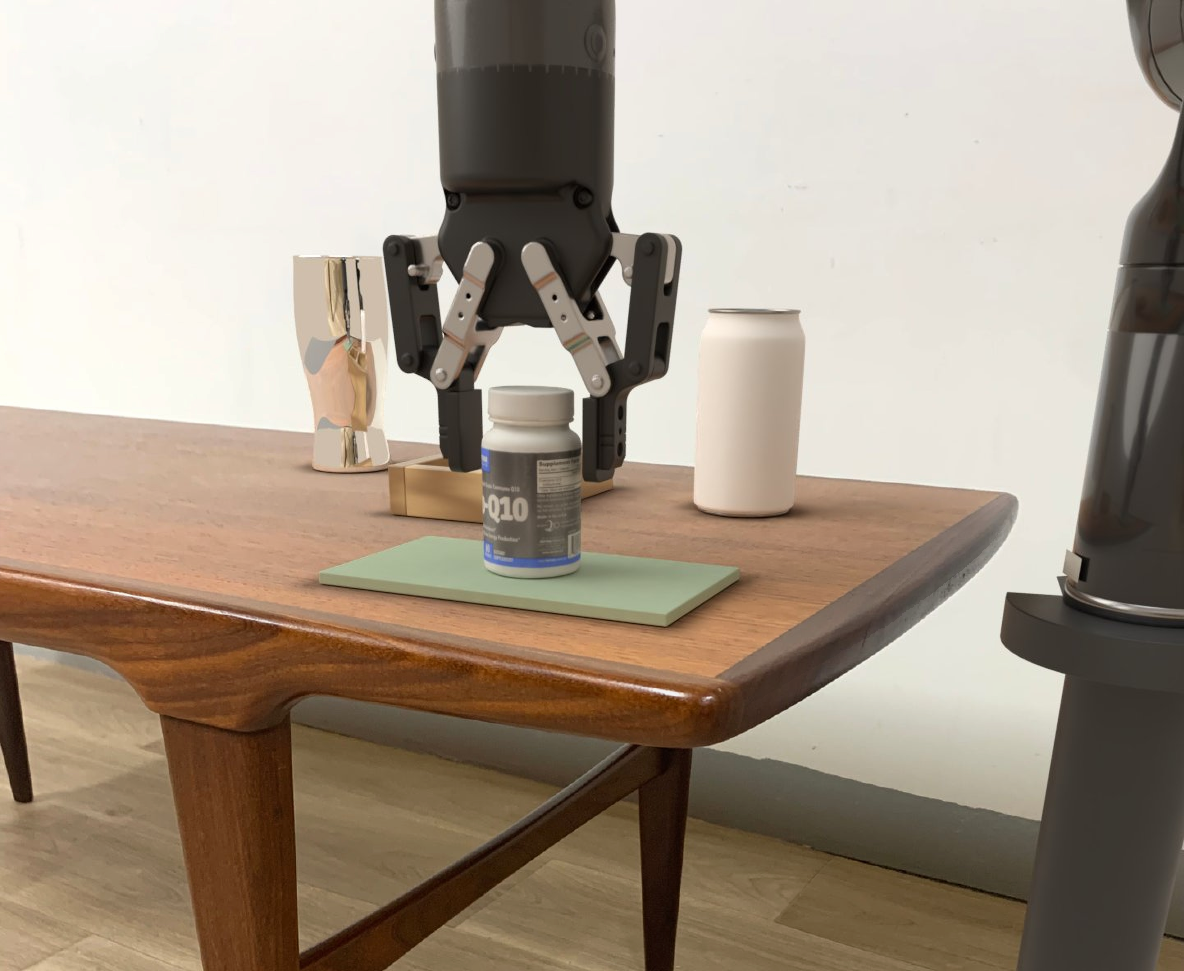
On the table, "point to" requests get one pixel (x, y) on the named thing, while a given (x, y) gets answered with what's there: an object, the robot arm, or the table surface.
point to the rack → (447, 490)
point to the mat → (539, 581)
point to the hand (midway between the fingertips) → (530, 474)
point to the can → (748, 411)
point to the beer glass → (344, 357)
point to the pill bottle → (531, 483)
